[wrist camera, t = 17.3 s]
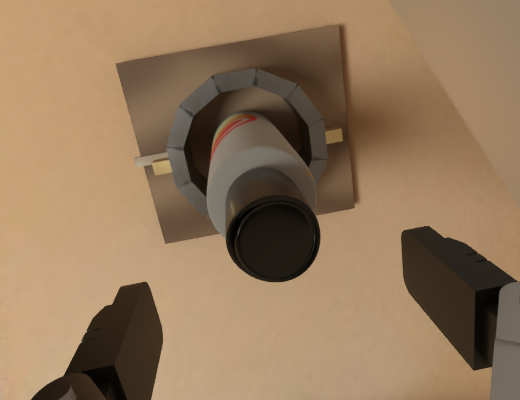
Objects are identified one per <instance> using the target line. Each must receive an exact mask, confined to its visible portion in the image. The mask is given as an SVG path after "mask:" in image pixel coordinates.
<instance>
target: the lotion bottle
mask: <svg viewBox="0 0 520 400" xmlns="http://www.w3.org/2000/svg"><path fill="white" fill-rule="evenodd" d="M316 205H317V189H316V184H315V181H314V178H313V176H312V173H311V172H310V170H309V168H308V167H307V165H306V164H305V163H304V161H303V160H302V159H301V157H300V156H299V155H298V154H297V152H296V151H295V150H294V149H293V148H292V146H291V145H290V144H289V143H288V141H287V140H286V139H285V138H284V137H283V135H282V134H281V133H280V132H279V130H278V129H277V128H276V127H275V126H274V125H273V123H272V122H271V121H270V120H268V119H267V118H266V117H265V116H263V115H261V114H259V113H256V112H252V111H241V112H236V113H234V114H232V115H230V116H228V117H227V118H225V119H224V120H223V121H222V122H221V123H220V125H219V126H218V128H217V130H216V132H215V135H214V138H213V144H212V152H211V160H210V168H209V176H208V185H207V208H208V213H209V216H210V218H211V221H212V223H213V225H214V226H215V228H216V229H217V231H218V232H219V233H220V234H221V235H222V236H223V237H224V238H225V239H226V245H227V249H228V252H229V254H230V256H231V258H232V260H233V261H234V262H235V264H236V265H237V266H238V267H239V268H240V269H241V270H243V271H244V272H245V273H247V274H248V275H250V276H252V277H254V278H256V279H259V280H262V281H267V282H284V281H288V280H292V279H294V278H296V277H298V276H300V275H301V274H303V273H304V272H305V271H306V270H307V269H308V268H309V267H310V266H311V264H312V263H313V261H314V260H315V258H316V256H317V253H318V250H319V246H320V228H319V223H318V220H317V218H316V216H315V214H314V213H315V210H316Z"/></svg>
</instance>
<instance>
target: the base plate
mask: <svg viewBox="0 0 520 400" xmlns="http://www.w3.org/2000/svg"><path fill="white" fill-rule="evenodd" d="M116 67H117V71H118V74H119V78H120V82H121V85H122V89H123V92H124V96H125V100H126V103H127V107H128V111H129V114H130V118H131V121H132V125H133V129H134V132H135V136H136V139H137V143H138V147H139V150H140V154H141V157H136V158H134V161H135V164H136V167H141V166H144V168H145V172H146V176H147V179H148V183H149V186H150V190H151V194H152V197H153V201H154V205H155V208H156V212H157V215H158V219H159V223H160V226H161V230H162V233H163V237H164V241H165V244H167V243H173V242H178V241H183V240H188V239H194V238H199V237H204V236H210V235H215V234H220V233H219V232H218V231H217V229H216V228H215V226H214V225H213V223H212V221H211V219H210V218H207V217H206V214H205V215H204V216H203V215H202V214H201V213H200V212H199V211H198V210H197V209H196V208H195V207H194V206H193V205H192V204H191V203H190V202H189V201H188V199H187V198H186V197H185V196H184V195H183V194H182V193H181V192H180V191H179V190H178V189H177V187H178V186H177V187H176V185H175V181H174V177H173V173H166V174H161V175H155V174H154V170H153V166H152V162H153V161H154V160H157V159H162V158H168V153H167V149H166V148H167V142H168V139H169V136H170V132H171V129H172V126H173V122H174V119H175V116H176V113H177V109H178V107H179V106H180V104H181V103H182V102H183V101H184V100H185V99H186V98H187V97H188V96H190V95H191V94H192V93H193V92H194V91H195V90H196V89H197V88H199V87H200V86H201V85H202V84H203V83H204V82H205V81H206V80H208V79H209V78H210V77H211V76H212V75H213V76H214V74H217V73H223V72H229V71H234V70H240V69H246V68H258V69H260V70H263V71H265V72H268V73H270V74H273V75H276V76H278V77H281V78H283V79H286V80H288V81H291V82H293V83H296V84H297V85H299V86H300V88H301V89H302V90H303V92H304V93H305V94H306V96H307V97H308V98H309V100H310V101H311V102H312V104H313V105H314V106H315V108H316V109H317V110H318V112H319V113H320V114H321V116H322V117H323V118H322V119H323V120H324V126H325V129H327V128H333V127H340V128H342V137H343V141H341V142H335V143H330V144H326V145H327V154H328V159H326V160H327V163H326V166H325V168H324V170H323V173H322V175H321V177H320V180H319V182H318V184H317V187H316V189H317V205H316V210H315V213H314V214H315V216H316V215H321V214H326V213H331V212H337V211H342V210H347V209H353V208H355V207H354V196H353V184H352V172H351V161H350V149H349V138H348V126H347V115H346V103H345V92H344V80H343V68H342V57H341V45H340V34H339V25H334V26H328V27H323V28H317V29H311V30H305V31H300V32H294V33H288V34H282V35H277V36H271V37H265V38H259V39H254V40H248V41H242V42H236V43H231V44H225V45H219V46H214V47H208V48H202V49H196V50H191V51H185V52H179V53H173V54H168V55H162V56H156V57H150V58H145V59H139V60H133V61H127V62H122V63H116ZM241 111H252V112H256V113H259V114H261V115H263V116H265V117H266V118H267V119H268V120H270V121H271V122H272V123H273V125H274V126H275V127H276V128H277V129H278V130H279V132H280V133H281V134H282V135H283V137H284V138H285V139H286V140H287V141H288V143H289V144H290V145H291V146H292V148H293V149H294V150H295V151H296V152H297V154H299V151H300V149H301V140H300V132H299V125H298V118H297V116H296V115H295V114H294V113H293V111H292V110H291V109H290V107H289V106H288V105H287V104H286V102H285V101H284V100H283V98H282V97H281V96H279V95H276V94H274V93H271V92H269V91H266V90H263V89H261V88H258V87H256V86H254V87H248V88H243V89H237V90H232V91H226V92H220V93H219V94H218V95H217V96H216V97H214V98H213V99H212V100H211V101H210V102H209V103H208V104H206V105H205V106H204V107H203V108H202V109H201V110H200V111H198V112H197V113H196V114H195V118H194V121H193V124H192V127H191V130H190V133H189V136H188V139H189V144H190V148H191V152H192V157H193V161H194V165H195V167H196V168H197V169H198V170H199V171H200V173H201V174H202V175H203V176H204V177H205V178H206V179H207V180H208V176H209V168H210V160H211V152H212V144H213V138H214V135H215V132H216V130H217V128H218V126H219V125H220V123H221V122H222V121H223V120H224V119H225V118H227V117H228V116H230V115H232V114H234V113H236V112H241Z"/></svg>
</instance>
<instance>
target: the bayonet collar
mask: <svg viewBox="0 0 520 400" xmlns="http://www.w3.org/2000/svg"><path fill="white" fill-rule="evenodd" d="M254 86H256V87H258V88H261V89H263V90H266V91H269V92H271V93H274V94H276V95H279V96H281V97H282V98H283V100H284V101H285V102H286V104H287V105H288V106H289V107H290V109H291V110H292V111H293V113H294V114H295V115H296V116H297V118H298V125H299V132H300V140H301V149H300V151H299V154H298V155H299V156H300V157H301V159H302V160H303V161H304V163H305V164H306V165H307V167H308V168H309V170H310V172H311V173H312V176H313V178H314V181H315V184H316V187H317V184H318V182H319V180H320V177H321V175H322V173H323V170H324V168H325V166H326V163H327V160H326V159H328V154H327V145H326V144H330V143H335V142H341V141H343V137H342V128H340V127H333V128H327V129H325V126H324V120H323V119H322V118H323V117H322V116H321V114H320V113H319V112H318V110H317V109H316V108H315V106H314V105H313V104H312V102H311V101H310V100H309V98H308V97H307V96H306V94H305V93H304V92H303V90H302V89H301V88H300V86H299V85H297V84H296V83H293V82H291V81H288V80H286V79H283V78H281V77H278V76H276V75H273V74H270V73H268V72H265V71H263V70H260V69H258V68H246V69H240V70H234V71H229V72H223V73H217V74H214V76H213V75H212V76H211V77H210V78H209V79H208V80H206V81H205V82H204V83H203V84H202V85H201V86H200V87H199V88H197V89H196V90H195V91H194V92H193V93H192V94H191V95H190V96H188V97H187V98H186V99H185V100H184V101H183V102H182V103H181V104H180V106H179V107H178V109H177V113H176V116H175V119H174V122H173V126H172V129H171V132H170V136H169V139H168V142H167V148H166V149H167V153H168V158H162V159H157V160H154V161H153V162H152V166H153V170H154V174H155V175H161V174H166V173H173V177H174V181H175V185H176V187H177V186H178V187H177V189H178V190H179V191H180V192H181V193H182V194H183V195H184V196H185V197H186V198H187V199H188V201H189V202H190V203H191V204H192V205H193V206H194V207H195V208H196V209H197V210H198V211H199V212H200V213H201V214H202V215H203V216H204V215H205V214H206V217H207V218H210V216H209V213H208V208H207V185H208V180H207V179H206V178H205V177H204V176H203V175H202V174H201V173H200V171H199V170H198V169H197V168H196V167H195V165H194V161H193V157H192V152H191V148H190V144H189V139H188V136H189V133H190V130H191V127H192V124H193V121H194V118H195V114H196V113H197V112H198V111H200V110H201V109H202V108H203V107H204V106H205V105H206V104H208V103H209V102H210V101H211V100H212V99H213V98H214V97H216V96H217V95H218V94H219V93H220V92H226V91H232V90H237V89H243V88H248V87H254ZM210 219H211V218H210Z"/></svg>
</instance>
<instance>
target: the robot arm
mask: <svg viewBox="0 0 520 400" xmlns="http://www.w3.org/2000/svg"><path fill="white" fill-rule="evenodd" d="M401 243H402V262H403V277H404V282H405V285H406V287H407V290H408V292H409V293H410V295H411V296H412V297H413V298H414V299H415V301H416V302H417V303H418V304H419V305H420V307H421V308H422V309H423V310H424V311H425V313H426V314H427V315H428V316H429V318H430V319H431V320H432V321H433V322H434V324H435V325H436V326H437V327H438V328H439V330H440V331H441V332H442V333H443V334H444V336H445V337H446V338H447V339H448V340H449V342H450V343H451V344H452V345H453V346H454V348H455V349H456V350H457V351H458V352H459V354H460V355H461V356H462V357H463V358H464V360H465V361H466V362H467V363H468V364H469V366H470V367H471V368H472V369H473V370H479V369H484V368H488V367H492V379H491V391H490V400H520V282H518V281H516V280H515V279H514V278H512V277H511V276H510V275H508V274H507V273H505V272H504V271H503V270H501V269H500V268H498V267H497V266H496V265H494V264H493V263H492V262H490V261H487V259H486V258H485V257H483V256H482V255H481V254H477V252H476V251H475V250H474V249H472V248H471V247H470V246H468V245H467V244H465V243H463V242H460V241H457V240H454V239H452V238H444V237H442V236H441V235H440V234H439V233H437V232H436V231H435V230H433V229H432V228H431V227H429V226H424V227H419V228H414V229H409V230H404V231H403V232H402V235H401ZM162 344H163V332H162V326H161V322H160V319H159V316H158V313H157V309H156V306H155V303H154V300H153V296H152V293H151V290H150V287H149V285H148V283H147V282H141V283H136V284H131V285H126V286H121V287H120V289H119V291H118V293H117V295H116V297H115V300H114V302H113V304H112V305H108V306H105V307H104V308H103V309H102V310H101V311H100V312H99V313H98V314H97V315H96V316H95V317H94V318H93V319H92V321H91V323H90V325H89V327H88V329H87V333H85V335H84V337H83V339H82V343H80V345H79V347H78V349H77V351H76V353H75V355H74V356H73V358H72V360H71V362H70V364H69V366H68V368H67V370H66V372H65V374H64V376H63V377H60V378H58V379H56V380H54V381H52V382H50V383H49V384H47V385H46V386H44V387H43V388H42V389H41V390H39V391H38V392H37V393H36V394H35V395H34V396H33V398H32V399H31V400H151V397H152V392H153V387H154V383H155V378H156V373H157V368H158V364H159V359H160V354H161V349H162Z"/></svg>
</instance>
